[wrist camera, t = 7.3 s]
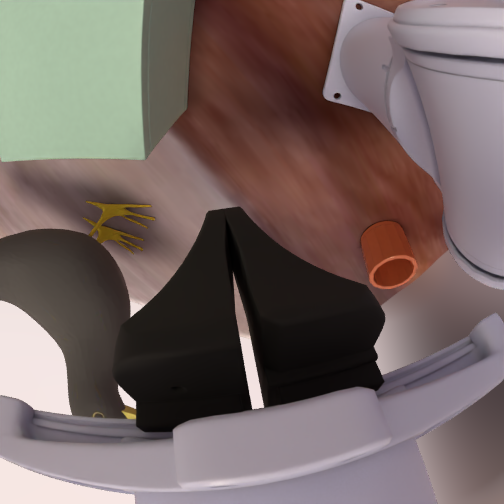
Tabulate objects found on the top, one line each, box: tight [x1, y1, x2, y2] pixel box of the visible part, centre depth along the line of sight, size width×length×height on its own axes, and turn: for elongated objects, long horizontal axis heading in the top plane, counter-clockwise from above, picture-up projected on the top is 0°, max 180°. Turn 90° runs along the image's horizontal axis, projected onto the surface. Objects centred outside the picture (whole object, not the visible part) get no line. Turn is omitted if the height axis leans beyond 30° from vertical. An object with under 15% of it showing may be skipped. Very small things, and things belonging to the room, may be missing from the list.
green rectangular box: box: [0, 0, 195, 162], centre depth 10 cm, size 13×12×8 cm
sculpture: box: [0, 201, 155, 419], centre depth 19 cm, size 9×25×20 cm, turn 59°
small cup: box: [360, 221, 418, 289], centre depth 24 cm, size 5×5×4 cm
